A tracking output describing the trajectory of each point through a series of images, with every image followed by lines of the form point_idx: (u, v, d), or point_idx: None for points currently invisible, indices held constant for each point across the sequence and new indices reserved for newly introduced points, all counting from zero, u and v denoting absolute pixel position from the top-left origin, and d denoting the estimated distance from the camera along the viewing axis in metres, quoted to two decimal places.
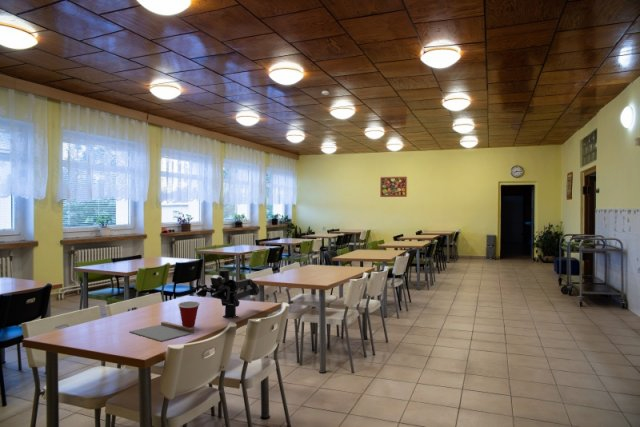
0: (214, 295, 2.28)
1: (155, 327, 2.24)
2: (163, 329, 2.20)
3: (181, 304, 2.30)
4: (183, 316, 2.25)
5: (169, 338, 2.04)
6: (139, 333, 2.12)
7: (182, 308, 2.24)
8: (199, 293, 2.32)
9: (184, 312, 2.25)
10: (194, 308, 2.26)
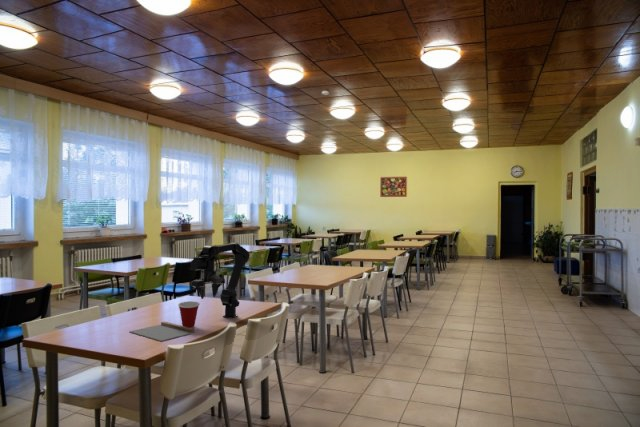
0: None
1: (155, 327, 2.24)
2: (163, 329, 2.20)
3: (181, 304, 2.30)
4: (183, 316, 2.25)
5: (169, 338, 2.04)
6: (139, 333, 2.12)
7: (182, 308, 2.24)
8: None
9: (184, 312, 2.25)
10: (194, 308, 2.26)
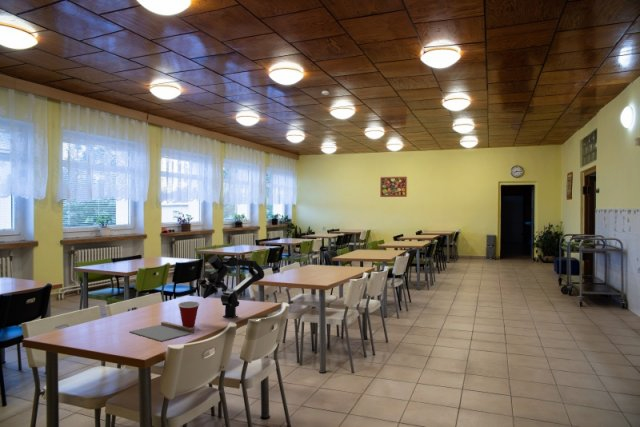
0: (206, 295, 2.37)
1: (155, 327, 2.24)
2: (163, 329, 2.20)
3: (181, 304, 2.30)
4: (183, 316, 2.25)
5: (169, 338, 2.04)
6: (139, 333, 2.12)
7: (182, 308, 2.24)
8: None
9: (184, 312, 2.25)
10: (194, 308, 2.26)
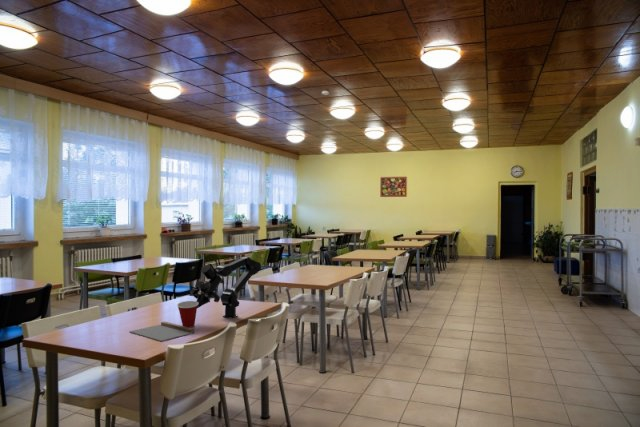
0: (198, 305, 2.32)
1: (155, 327, 2.24)
2: (163, 329, 2.20)
3: (180, 304, 2.30)
4: (182, 316, 2.25)
5: (169, 338, 2.04)
6: (139, 333, 2.12)
7: (181, 308, 2.24)
8: (198, 304, 2.34)
9: (183, 312, 2.24)
10: (193, 308, 2.25)
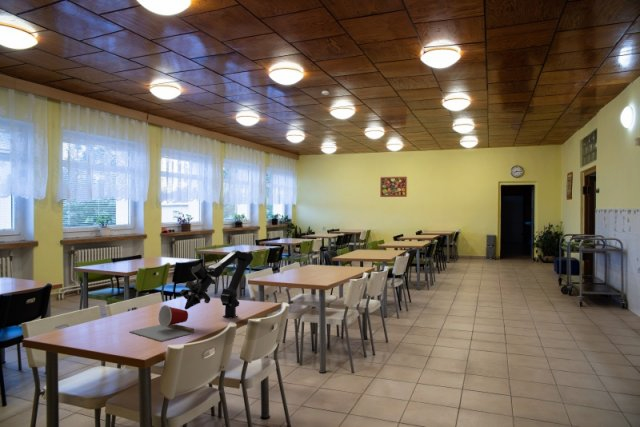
0: (188, 306, 2.27)
1: (155, 327, 2.24)
2: (163, 329, 2.20)
3: (160, 318, 2.22)
4: (174, 323, 2.22)
5: (169, 338, 2.04)
6: (139, 333, 2.12)
7: None
8: None
9: (171, 324, 2.19)
10: (172, 316, 2.17)
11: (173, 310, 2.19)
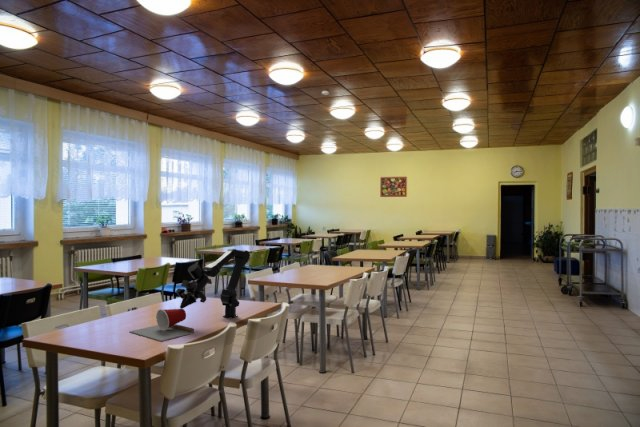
0: (183, 305, 2.25)
1: (155, 327, 2.24)
2: None
3: (159, 321, 2.21)
4: (174, 324, 2.21)
5: (169, 338, 2.04)
6: (139, 333, 2.12)
7: None
8: None
9: None
10: (169, 320, 2.16)
11: (169, 313, 2.17)
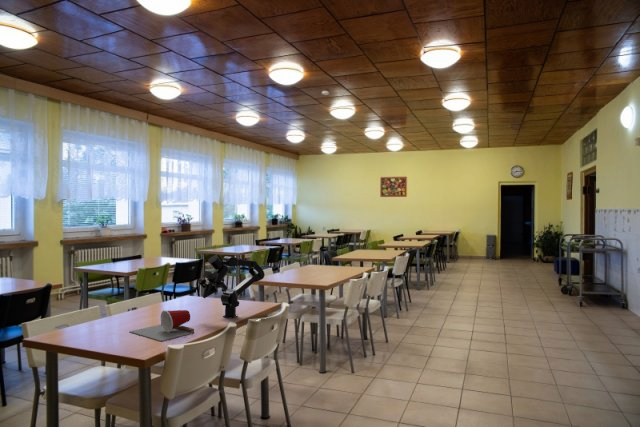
0: (206, 295, 2.37)
1: (155, 327, 2.24)
2: (163, 329, 2.20)
3: (162, 315, 2.18)
4: None
5: (169, 338, 2.04)
6: (139, 333, 2.12)
7: None
8: None
9: None
10: (173, 328, 2.14)
11: (175, 321, 2.14)
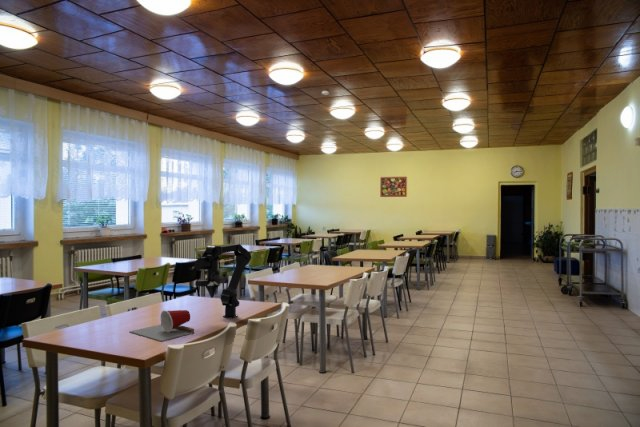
0: None
1: (155, 327, 2.24)
2: (163, 329, 2.20)
3: (162, 315, 2.18)
4: None
5: (169, 338, 2.04)
6: (139, 333, 2.12)
7: None
8: None
9: None
10: (173, 328, 2.14)
11: (175, 321, 2.14)
